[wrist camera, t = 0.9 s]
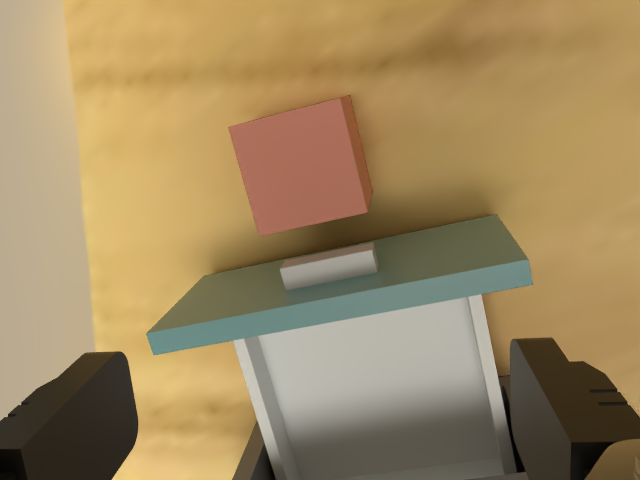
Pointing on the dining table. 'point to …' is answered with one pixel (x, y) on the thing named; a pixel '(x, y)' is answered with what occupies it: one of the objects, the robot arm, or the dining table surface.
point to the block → (303, 166)
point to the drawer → (367, 353)
